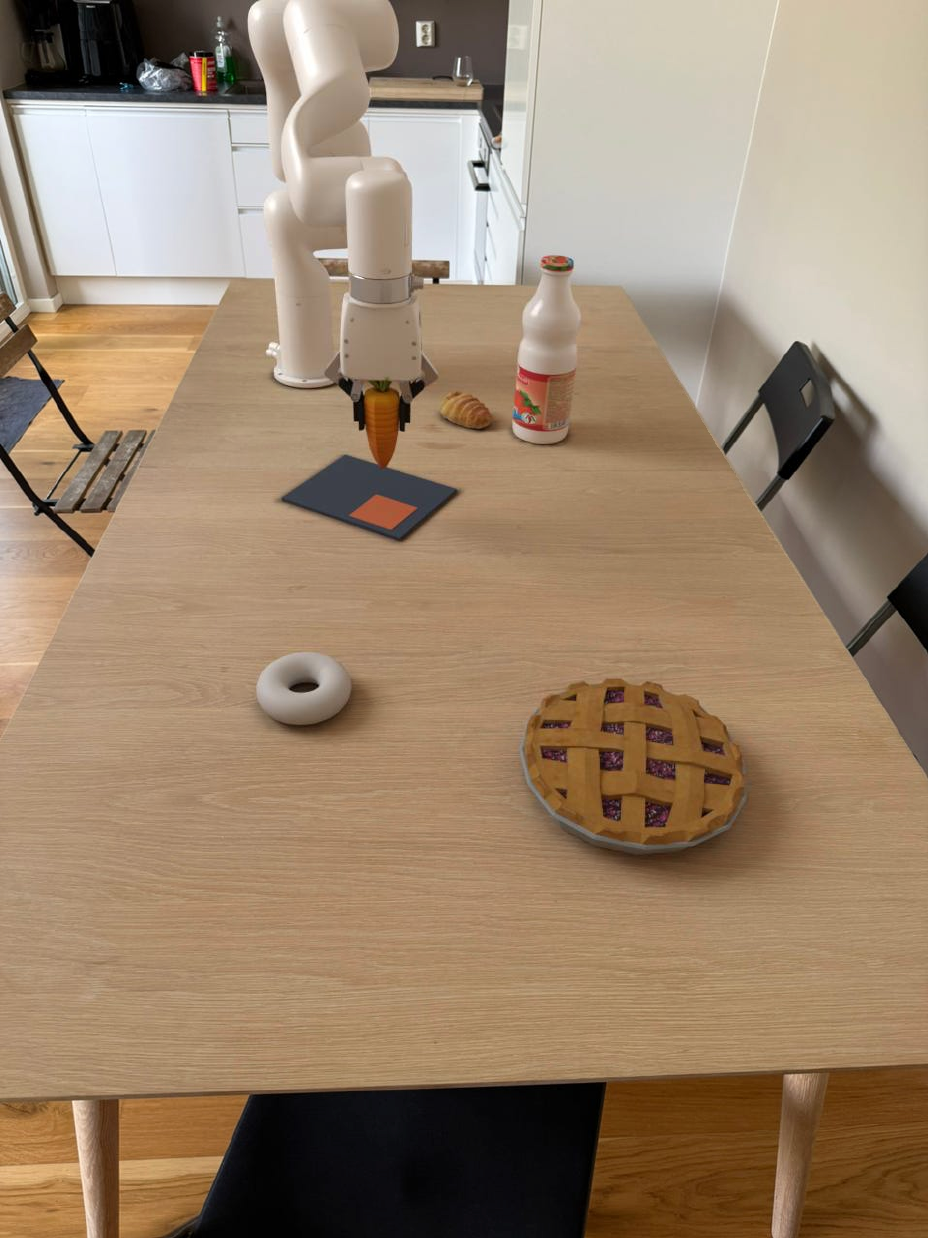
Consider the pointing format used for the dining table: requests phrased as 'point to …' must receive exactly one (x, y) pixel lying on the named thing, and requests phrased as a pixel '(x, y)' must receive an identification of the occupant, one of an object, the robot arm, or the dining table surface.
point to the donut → (309, 704)
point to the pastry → (465, 410)
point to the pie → (633, 766)
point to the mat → (370, 496)
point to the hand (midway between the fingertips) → (382, 425)
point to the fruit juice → (547, 357)
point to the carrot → (382, 420)
